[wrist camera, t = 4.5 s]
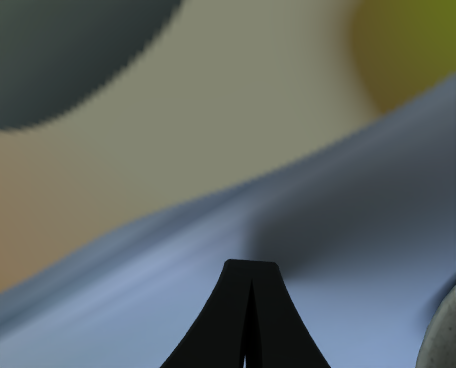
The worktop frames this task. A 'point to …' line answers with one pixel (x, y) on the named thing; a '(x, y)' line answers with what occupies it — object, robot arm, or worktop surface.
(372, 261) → the worktop surface
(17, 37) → the worktop surface
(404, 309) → the worktop surface
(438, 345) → the ceramic mug
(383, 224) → the worktop surface
